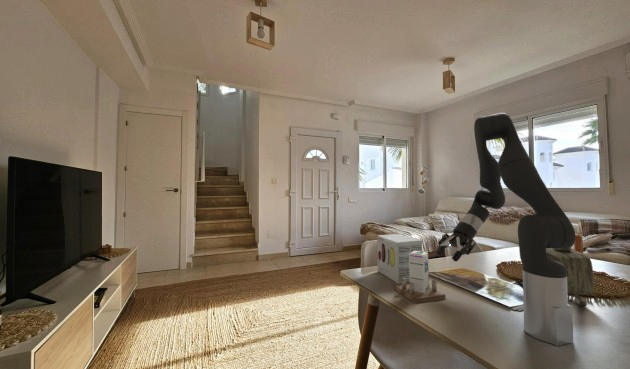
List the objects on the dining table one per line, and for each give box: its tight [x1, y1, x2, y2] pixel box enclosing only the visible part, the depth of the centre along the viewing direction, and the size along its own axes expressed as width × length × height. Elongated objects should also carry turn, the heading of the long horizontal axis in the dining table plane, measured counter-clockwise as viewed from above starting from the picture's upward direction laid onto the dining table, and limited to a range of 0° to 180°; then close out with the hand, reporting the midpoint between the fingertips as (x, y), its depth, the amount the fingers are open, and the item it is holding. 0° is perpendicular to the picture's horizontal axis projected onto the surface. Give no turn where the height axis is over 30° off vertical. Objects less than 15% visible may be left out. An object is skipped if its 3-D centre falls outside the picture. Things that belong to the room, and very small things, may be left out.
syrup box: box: [409, 250, 430, 293], centre depth 99 cm, size 6×6×14 cm
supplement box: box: [376, 233, 423, 285], centre depth 119 cm, size 17×13×18 cm
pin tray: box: [394, 278, 447, 304], centre depth 98 cm, size 13×13×6 cm
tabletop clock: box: [546, 246, 594, 307], centre depth 93 cm, size 14×9×25 cm, turn 168°
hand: (445, 257), depth 101 cm, fingers open, 8 cm apart
